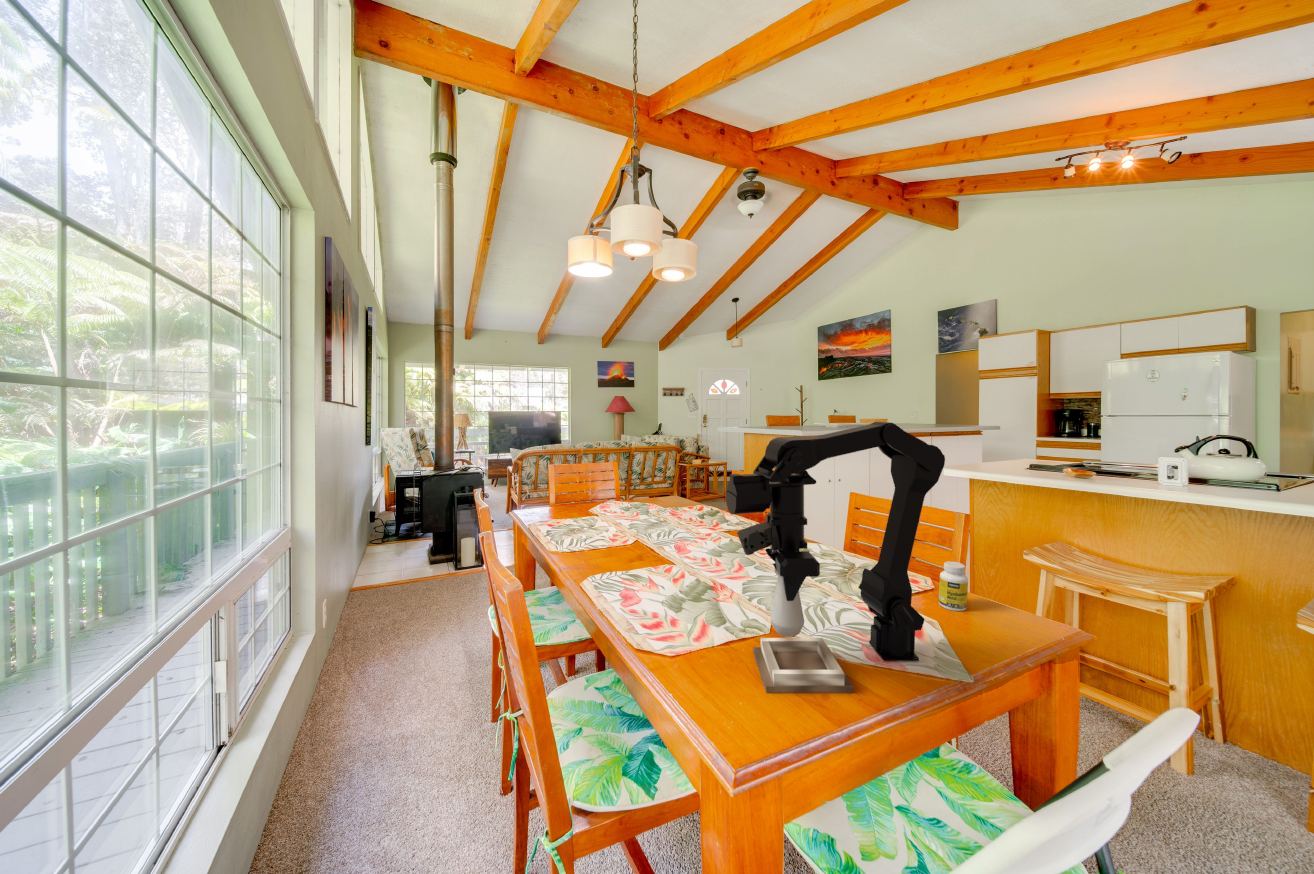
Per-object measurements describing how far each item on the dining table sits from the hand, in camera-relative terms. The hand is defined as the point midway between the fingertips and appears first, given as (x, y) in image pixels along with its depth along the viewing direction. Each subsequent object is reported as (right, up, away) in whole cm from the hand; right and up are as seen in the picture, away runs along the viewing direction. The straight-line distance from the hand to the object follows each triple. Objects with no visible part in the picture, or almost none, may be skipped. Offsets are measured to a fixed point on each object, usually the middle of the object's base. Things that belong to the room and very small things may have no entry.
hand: (787, 596), depth 83 cm
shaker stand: (+2, -13, -1) cm, 13 cm away
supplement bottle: (+44, -10, +23) cm, 50 cm away
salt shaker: (0, -7, +1) cm, 7 cm away
